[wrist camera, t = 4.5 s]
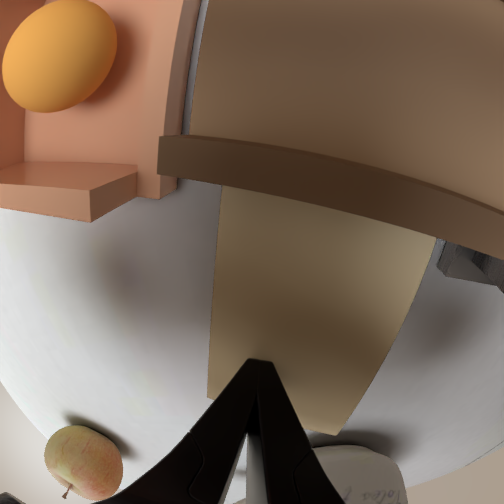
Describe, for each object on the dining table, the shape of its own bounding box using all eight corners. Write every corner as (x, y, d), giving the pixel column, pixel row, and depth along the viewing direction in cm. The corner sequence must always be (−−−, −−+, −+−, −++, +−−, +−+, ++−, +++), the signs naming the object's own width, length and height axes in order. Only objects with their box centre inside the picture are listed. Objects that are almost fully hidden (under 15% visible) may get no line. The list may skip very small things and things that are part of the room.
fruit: (108, 456, 22) (83, 511, 15) (55, 414, 20) (21, 470, 13) (150, 457, 20) (123, 527, 13) (86, 408, 18) (45, 482, 11)
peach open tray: (176, 188, 10) (117, 226, 6) (21, 176, 10) (-41, 201, 7) (213, -50, 6) (178, -108, 2) (44, -7, 6) (-13, -20, 3)
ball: (121, 109, 9) (84, 106, 5) (32, 117, 8) (-27, 125, 5) (136, 13, 7) (113, -31, 4) (45, 26, 6) (-5, 2, 3)
